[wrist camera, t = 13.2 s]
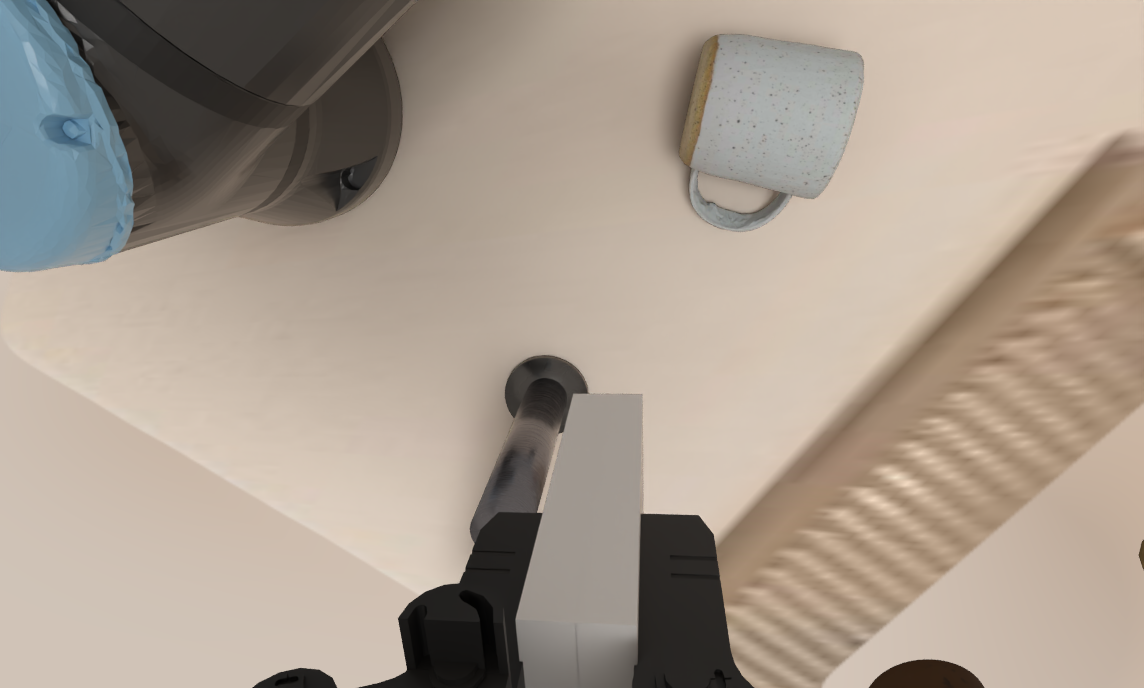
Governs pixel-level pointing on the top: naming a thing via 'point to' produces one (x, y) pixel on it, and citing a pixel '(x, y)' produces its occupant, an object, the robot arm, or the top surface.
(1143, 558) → the squeeze bottle
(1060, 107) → the top surface
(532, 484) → the gate post
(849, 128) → the ceramic mug
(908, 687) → the olive oil
